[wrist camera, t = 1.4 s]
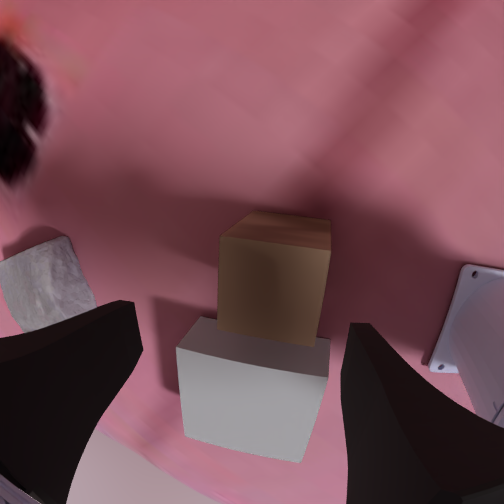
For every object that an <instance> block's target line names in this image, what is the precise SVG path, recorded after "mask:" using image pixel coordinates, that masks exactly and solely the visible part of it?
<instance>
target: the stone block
mask: <svg viewBox="0 0 504 504" xmlns="http://www.w3.org/2000/svg"><path fill="white" fill-rule="evenodd" d="M0 284H1V288H2V290H3V294H4V299H5V301H6V303H7V306H8V309H9V310H10V312H11V315H12V317H13V318H14V320H15V321H16V322H17V323H18V324H19V325H20V327H21V329H22V331H23V332H24V333H27V332H31V331H34V330H38V329H41V328H44V327H47V326H50V325H52V324H55V323H58V322H61V321H63V320H66V319H69V318H71V317H74V316H76V315H79V314H81V313H84V312H87V311H89V310H92V309H94V308H97V305H96V300H95V297H94V294H93V293H92V291H91V289H90V287H89V285H88V283H87V280H86V279H85V277H84V276H83V274H82V271H81V268H80V264H79V261H78V258H77V256H76V255H75V254H74V251H73V248H72V244H71V241H70V239H69V238H68V237H67V236H60V237H57V238H55V239H52V240H49V241H47V242H44V243H42V244H39V245H36V246H34V247H32V248H30V249H27V250H25V251H23V252H20V253H18V254H16V255H14V256H12V257H9V258H7V259H5V260H3V261H0Z"/></svg>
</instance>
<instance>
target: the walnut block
mask: <svg viewBox="0 0 504 504" xmlns="http://www.w3.org/2000/svg"><path fill="white" fill-rule="evenodd" d="M330 255H331V220H325V219H318V218H310V217H303V216H295V215H287V214H278V213H270V212H262V211H252V212H251V213H250V214H248V215H247V216H246V217H244V218H243V219H242V220H240V221H239V222H238V223H236V224H235V225H233V226H232V227H231V228H229V229H228V230H227V231H225V232H224V233H223V234H221V235H220V241H219V270H218V307H217V330H221V331H226V332H231V333H236V334H241V335H246V336H251V337H257V338H262V339H268V340H273V341H279V342H285V343H291V344H297V345H304V346H310V347H314V344H315V339H316V334H317V329H318V324H319V319H320V314H321V309H322V303H323V298H324V292H325V286H326V280H327V274H328V268H329V262H330Z"/></svg>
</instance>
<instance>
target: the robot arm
mask: <svg viewBox="0 0 504 504" xmlns="http://www.w3.org/2000/svg"><path fill="white" fill-rule="evenodd" d="M474 271H476V274H475V275H474V276H472V273H473V272H474ZM142 352H143V346H142V341H141V336H140V331H139V326H138V321H137V316H136V310H135V304H134V302H130V301H123V300H118V301H114V302H111V303H108V304H105V305H102V306H99V307H97V308H94V309H92V310H89V311H87V312H84V313H81V314H79V315H76V316H74V317H71V318H69V319H66V320H63V321H61V322H58V323H55V324H52V325H50V326H47V327H44V328H41V329H38V330H34V331H31V332H27V333H23V334H19V335H15V336H9V337H3V338H0V504H40V503H41V504H66V501H67V497H68V494H69V490H70V486H71V483H72V480H73V477H74V474H75V471H76V469H77V466H78V463H79V461H80V459H81V456H82V454H83V452H84V449H85V447H86V445H87V442H88V441H89V438H90V437H91V434H92V433H93V430H94V429H95V427H96V425H97V423H98V421H99V420H100V418H101V416H102V415H103V413H104V412H105V410H106V409H107V408H108V406H109V405H110V403H111V402H112V401H113V399H114V398H115V396H116V395H117V393H118V392H119V391H120V389H121V388H122V386H123V385H124V383H125V382H126V381H127V379H128V378H129V376H130V375H131V373H132V372H133V370H134V368H135V366H136V364H137V362H138V360H139V358H140V356H141V354H142ZM441 364H443V365H442V366H441V367H439V365H441ZM428 368H429V370H430V371H431V372H442V373H459V374H460V376H461V379H462V381H463V383H464V385H465V388H466V390H467V392H468V395H469V397H470V400H471V402H472V405H473V407H474V410H475V412H476V414H474V413H472V412H471V411H469V410H467V409H466V408H464V407H462V406H461V405H459V404H457V403H456V402H454V401H453V400H451V399H450V398H449V397H447V396H446V395H444V394H443V393H442V392H440V391H439V390H438V389H436V388H435V387H434V386H433V385H431V384H430V383H429V382H428V381H426V380H425V379H424V378H423V377H422V376H421V375H420V374H419V373H417V372H416V371H415V370H414V369H413V368H412V367H411V366H410V365H409V364H408V363H407V362H406V361H405V360H404V359H403V358H402V357H401V356H400V355H399V354H398V353H397V352H396V351H395V350H394V349H393V348H392V347H391V346H390V345H389V344H388V343H387V341H386V340H385V339H384V338H383V337H382V336H381V335H380V334H379V333H378V332H377V331H376V329H375V328H374V327H373V326H372V325H371V324H370V323H350V328H349V334H348V339H347V344H346V349H345V354H344V359H343V364H342V369H341V405H342V413H343V422H344V430H345V438H346V447H347V457H348V484H347V501H346V504H504V270H500V269H494V268H488V267H483V266H477V265H471V264H466V265H464V266H463V267H462V269H461V271H460V275H459V279H458V282H457V286H456V289H455V292H454V296H453V299H452V302H451V305H450V308H449V311H448V314H447V317H446V320H445V323H444V325H443V328H442V331H441V334H440V336H439V339H438V341H437V344H436V347H435V349H434V352H433V354H432V356H431V359H430V361H429V363H428ZM20 489H21V490H22V491H21V490H20ZM24 492H25V493H26V494H25V493H24ZM27 494H28V495H29V496H31V497H32V498H31V497H29V496H28V495H27ZM33 498H34V499H35V500H37V501H38V502H40V503H38V502H37V501H35V500H34V499H33Z"/></svg>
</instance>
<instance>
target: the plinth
mask: <svg viewBox="0 0 504 504" xmlns="http://www.w3.org/2000/svg"><path fill="white" fill-rule="evenodd" d="M176 356H177V368H178V379H179V389H180V399H181V408H182V416H183V425H184V432H185V436H186V437H189V438H192V439H196V440H199V441H202V442H206V443H209V444H213V445H217V446H220V447H224V448H228V449H232V450H236V451H241V452H245V453H249V454H254V455H259V456H264V457H269V458H274V459H280V460H286V461H292V462H299V463H301V461H302V458H303V456H304V453H305V450H306V447H307V444H308V441H309V439H310V436H311V433H312V430H313V427H314V424H315V420H316V417H317V414H318V411H319V408H320V404H321V401H322V398H323V394H324V391H325V388H326V384H327V381H328V375H329V358H330V339H325V338H318V337H316V339H315V344H314V347H310V346H304V345H297V344H291V343H285V342H279V341H273V340H268V339H262V338H257V337H251V336H246V335H241V334H236V333H231V332H226V331H221V330H217V320H216V319H211V318H207V317H202V316H200V317H199V319H198V320H197V321H196V322H195V324H194V325H193V326H192V327H191V329H190V330H189V331H188V332H187V334H186V335H185V336H184V337H183V339H182V340H181V341H180V342H179V344H178V345H177V346H176Z"/></svg>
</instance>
